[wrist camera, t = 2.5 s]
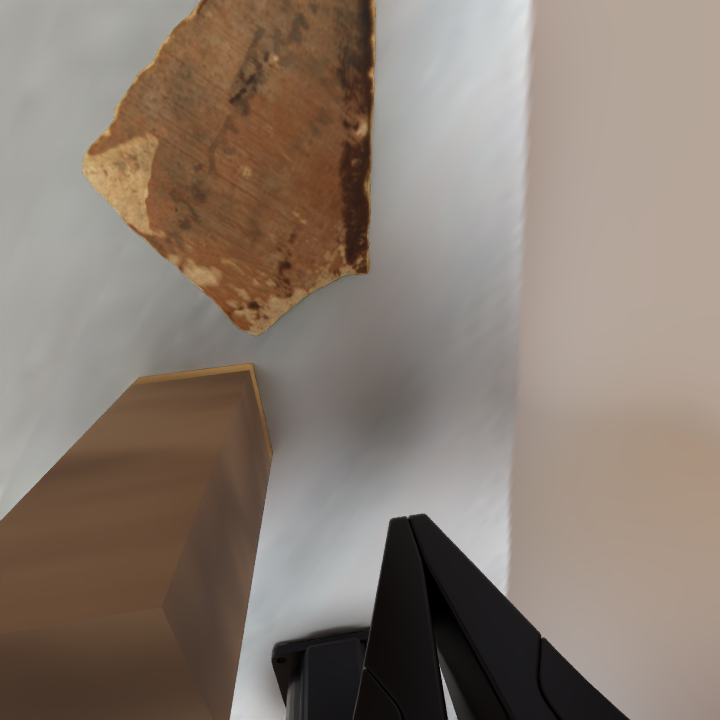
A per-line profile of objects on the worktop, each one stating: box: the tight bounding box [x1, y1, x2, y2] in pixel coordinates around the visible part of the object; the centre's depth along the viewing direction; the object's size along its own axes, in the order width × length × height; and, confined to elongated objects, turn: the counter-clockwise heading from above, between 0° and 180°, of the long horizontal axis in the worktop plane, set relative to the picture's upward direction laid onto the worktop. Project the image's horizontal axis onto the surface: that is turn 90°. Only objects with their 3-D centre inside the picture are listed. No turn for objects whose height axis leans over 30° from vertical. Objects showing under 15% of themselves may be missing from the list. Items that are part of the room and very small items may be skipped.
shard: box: [82, 0, 376, 336], centre depth 11 cm, size 11×8×2 cm
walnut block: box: [0, 363, 273, 720], centre depth 10 cm, size 4×4×9 cm
